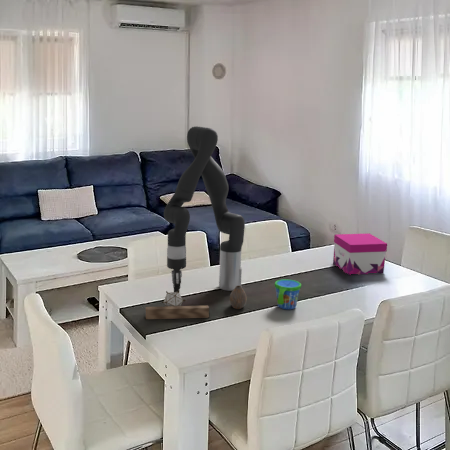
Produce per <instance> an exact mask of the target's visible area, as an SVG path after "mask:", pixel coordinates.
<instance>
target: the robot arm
mask: <svg viewBox="0 0 450 450" xmlns="http://www.w3.org/2000/svg"><path fill="white" fill-rule="evenodd" d="M186 133H187V134H186V135H187V136H186V141H187V146H188V148H189V150H190V152H191V153H192V156H193V158H194V160H193V161H192V162H191V164H190V165H189V166H188V167H187V168H186V169H185V170H184V171H183V173H182V174H181V175H180V177H179V180H178V183H177V186H176V188H175V192H174V194H173V195H172V196H171V198H170V199H169V201H168V203H166V206H165V207H164V211H163V218H164V220H165V221H166V222H168V223H171V224H174V228H172V229H170V230H168V232H167V246H166V247H167V248H166V266H167V268H168V269H170V270H171V272H170V273H171V281H172V286H173V287H172V288H173V292H178V290H179V291H180V289H181V284H182V276H183V273H182V269H186V266H187V247H186V246H187V245H186V241H187V240H186V238H187V237H186V235H187V232H188V227H189V224H190V220H191V215H190V211H189V209H187V208H186V207H184V206H183V205H184V203H189V202H191V201H192V200H193V197H194V194H195V192H196V188H197V186H198V183H199V180H200V177H201V178H202V181H203V184H204V187H205V190H206V193H207V195H208V198H209V201H210V204H211V207H212V210H213V214H214V220H215V223H216V227H217V229H218V231H219V232H220V233H223V234H225V235H229V237H228V239H227V240H225V241H224V240H223V241H222V242H221V243H220V245H219V247H220V248H219V276H218V280H219V281H218V288H219V289H220V290H224V291H231V292H232V291H233V290H234V289H235V287H236V286H241V287H242V270H243V269H242V267H241V265H242V248H243V244H244V241H245V239H244V238H245V228H246V226H245V225H246V224H245V218H244V217H243V216H242V215H241V214H237V213H234V212H233V213H232V212H230V211H229V208H228V207H227V204H226V203H227V201H226V200H227V197H228V194H229V182H228V180H227V177H226V174H225V172H224V170H223V169H222V168H221V166H220V165H219V164H218V163H217V161H215V159H214V158H213V157H212V155H213V154H214V151H215V149H216V147H217V144H218V141H219V139H218V137H219V136H218V133H217V131H216V130H215V129H213V128H210V127H204V126H198V125H197V126H192V127H190V128H189V129H188V131H187V132H186Z"/></svg>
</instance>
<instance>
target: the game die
mask: <svg viewBox="0 0 450 450" xmlns="http://www.w3.org/2000/svg"><path fill="white" fill-rule="evenodd" d="M165 292H166V296H165V297H164V300H163V301H161V303H162V304H163V305H164V306H183V303H184V302H186V299H183V297H182V296H181V294H180V289H179V290H178V292H174V291H171V292H168V290H166V291H165Z"/></svg>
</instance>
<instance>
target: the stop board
mask: <svg viewBox="0 0 450 450" xmlns="http://www.w3.org/2000/svg"><path fill="white" fill-rule="evenodd" d="M209 313H210V306H209V305H182V306H165V305H164V306H145V320H162V319H163V320H165V319H166V320H169V319H201V318H202V319H203V318H204V319H205V318H207V319H209V317H210V314H209Z"/></svg>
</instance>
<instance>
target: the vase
mask: <svg viewBox="0 0 450 450" xmlns="http://www.w3.org/2000/svg"><path fill="white" fill-rule="evenodd" d="M247 296H248V295H247V294H246V292H245V290H244V288H243V286H242V285H241V286H236V287H235V289H234V290H233V291H231V292H230V294H229V303H230V304H229V305H230V306H231V307H232V308H233V309H236V310H241V309H243V308H244V307H245V306H246V304H247V300H248V297H247Z"/></svg>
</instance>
